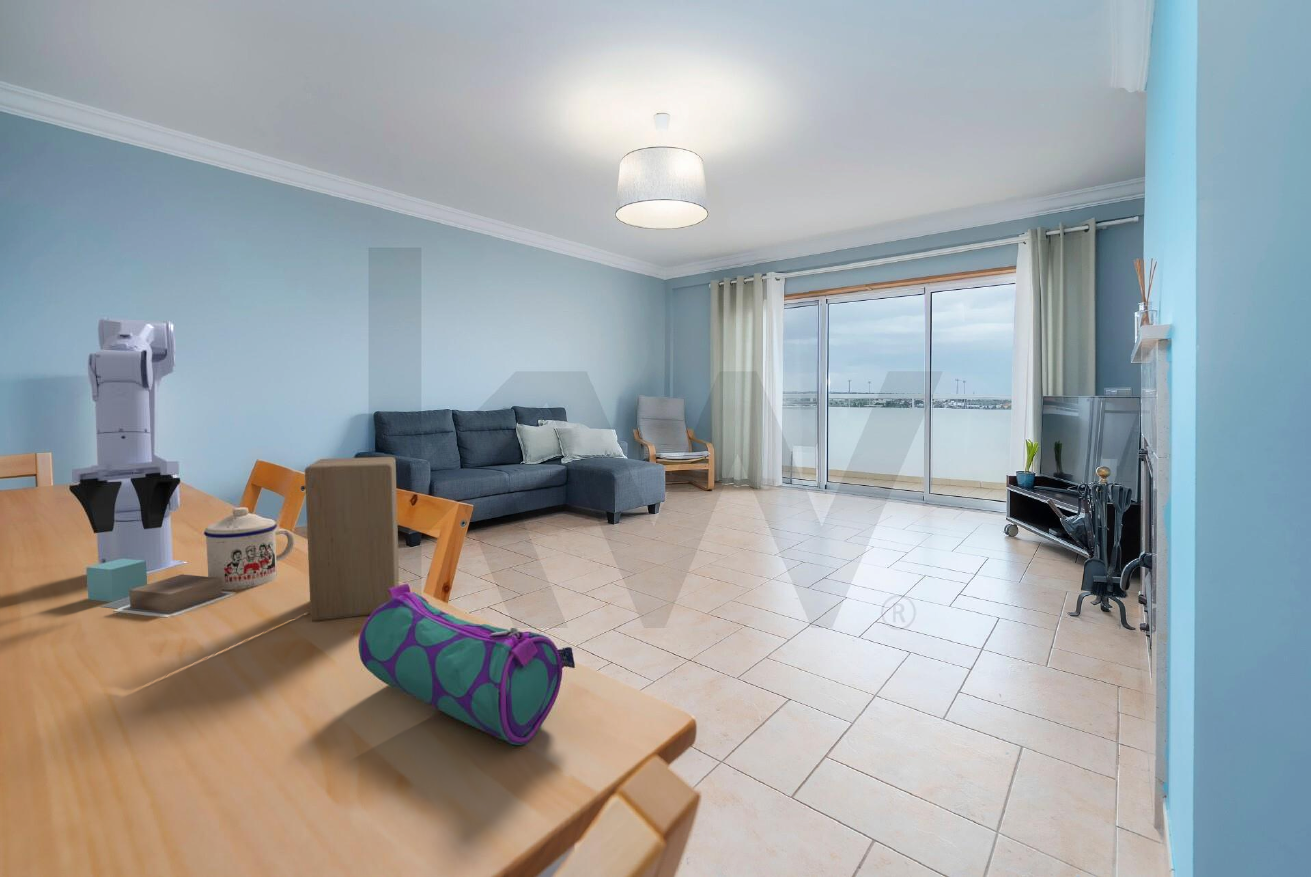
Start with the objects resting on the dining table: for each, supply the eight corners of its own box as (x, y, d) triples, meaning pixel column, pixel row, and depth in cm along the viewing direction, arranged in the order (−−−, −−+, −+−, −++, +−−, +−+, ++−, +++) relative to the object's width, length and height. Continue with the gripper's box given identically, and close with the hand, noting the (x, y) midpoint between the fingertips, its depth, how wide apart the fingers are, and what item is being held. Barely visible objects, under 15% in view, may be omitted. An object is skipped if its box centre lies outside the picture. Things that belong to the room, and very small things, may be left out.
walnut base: (130, 608, 79) (129, 589, 79) (183, 591, 86) (182, 574, 86) (171, 612, 77) (170, 594, 77) (221, 595, 84) (221, 578, 84)
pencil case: (576, 718, 54) (575, 615, 53) (502, 769, 47) (501, 651, 46) (430, 661, 65) (428, 575, 64) (352, 695, 58) (349, 599, 57)
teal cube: (88, 602, 82) (86, 567, 82) (124, 592, 87) (122, 558, 86) (113, 605, 81) (110, 569, 81) (147, 594, 86) (145, 560, 85)
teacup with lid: (223, 597, 85) (219, 516, 84) (195, 586, 89) (191, 509, 89) (309, 575, 95) (306, 503, 94) (280, 566, 100) (277, 498, 99)
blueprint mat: (93, 611, 79) (93, 608, 79) (168, 588, 88) (167, 585, 88) (169, 620, 76) (169, 617, 76) (237, 595, 85) (237, 592, 85)
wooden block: (323, 597, 85) (318, 458, 83) (399, 589, 88) (395, 456, 87) (310, 622, 76) (303, 467, 74) (395, 612, 79) (391, 464, 78)
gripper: (46, 437, 81) (49, 537, 80) (144, 427, 79) (148, 529, 79) (99, 439, 88) (103, 531, 87) (190, 430, 86) (194, 524, 86)
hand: (128, 530), depth 83 cm, fingers open, 7 cm apart
